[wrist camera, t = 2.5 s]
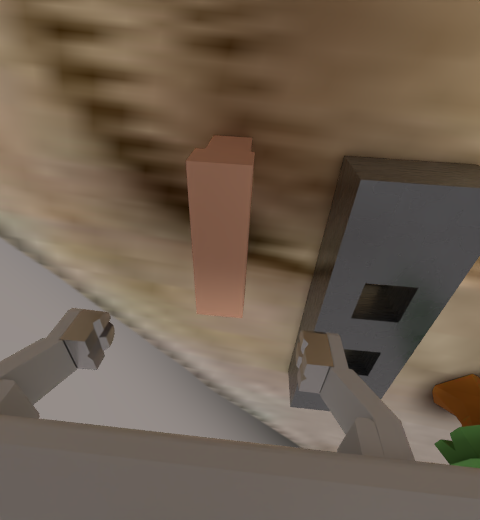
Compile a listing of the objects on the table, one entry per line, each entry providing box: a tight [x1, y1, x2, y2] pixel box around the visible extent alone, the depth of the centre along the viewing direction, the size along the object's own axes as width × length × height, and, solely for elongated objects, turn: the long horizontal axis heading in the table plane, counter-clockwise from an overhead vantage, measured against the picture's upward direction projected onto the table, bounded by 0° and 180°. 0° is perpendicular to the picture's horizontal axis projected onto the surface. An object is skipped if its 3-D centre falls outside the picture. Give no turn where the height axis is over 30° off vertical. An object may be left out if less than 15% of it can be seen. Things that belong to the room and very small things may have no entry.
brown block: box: [186, 135, 255, 318], centre depth 18 cm, size 10×3×6 cm, turn 177°
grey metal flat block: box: [288, 156, 480, 411], centre depth 23 cm, size 24×8×4 cm, turn 177°
